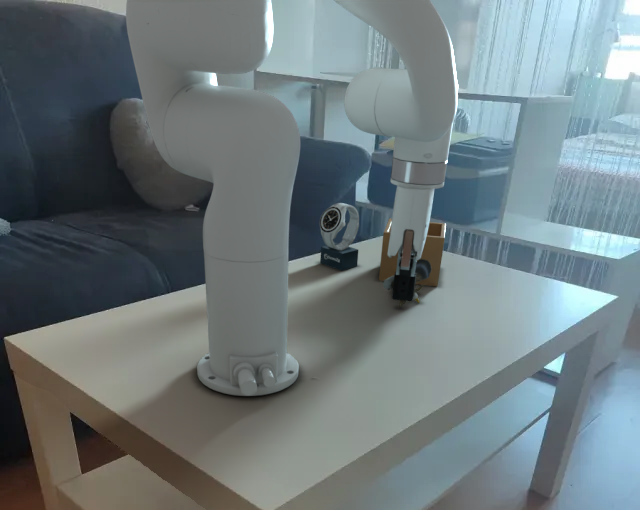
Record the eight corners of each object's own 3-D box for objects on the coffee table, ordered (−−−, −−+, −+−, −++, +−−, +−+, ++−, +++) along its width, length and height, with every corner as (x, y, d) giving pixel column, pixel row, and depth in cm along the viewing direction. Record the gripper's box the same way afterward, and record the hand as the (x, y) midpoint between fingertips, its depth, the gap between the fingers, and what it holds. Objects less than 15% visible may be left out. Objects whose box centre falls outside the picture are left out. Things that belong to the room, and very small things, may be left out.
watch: (313, 265, 118) (315, 204, 112) (342, 257, 123) (345, 198, 117) (334, 272, 115) (338, 210, 109) (363, 264, 120) (368, 204, 114)
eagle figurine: (435, 306, 99) (441, 278, 106) (414, 268, 96) (421, 242, 102) (393, 323, 103) (401, 296, 110) (371, 288, 100) (381, 261, 106)
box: (437, 286, 111) (444, 238, 106) (378, 280, 112) (383, 232, 108) (439, 268, 120) (445, 223, 115) (384, 263, 121) (389, 218, 117)
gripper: (396, 162, 95) (383, 281, 104) (385, 179, 82) (372, 312, 92) (446, 167, 94) (429, 286, 103) (443, 184, 81) (424, 319, 91)
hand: (402, 298), depth 97 cm, fingers closed
